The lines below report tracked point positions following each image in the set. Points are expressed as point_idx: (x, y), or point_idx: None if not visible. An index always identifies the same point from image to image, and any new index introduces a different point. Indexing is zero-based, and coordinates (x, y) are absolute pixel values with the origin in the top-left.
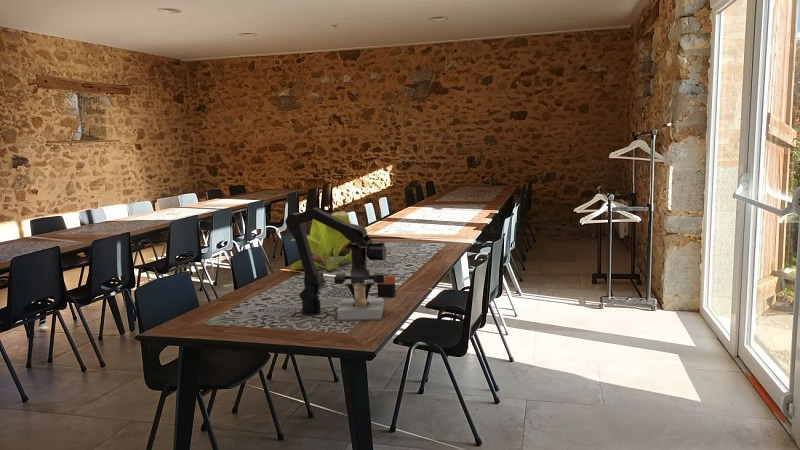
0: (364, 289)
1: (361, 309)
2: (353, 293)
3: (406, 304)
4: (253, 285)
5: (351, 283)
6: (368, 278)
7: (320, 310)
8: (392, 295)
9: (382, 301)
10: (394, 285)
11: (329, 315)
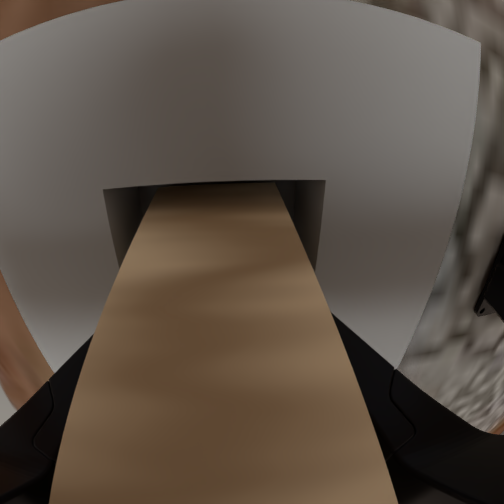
0: (75, 431)
1: (168, 13)
2: (355, 364)
3: (18, 378)
4: (498, 433)
5: None
6: None
7: (495, 272)
8: None
9: (34, 339)
10: None
11: (461, 207)
